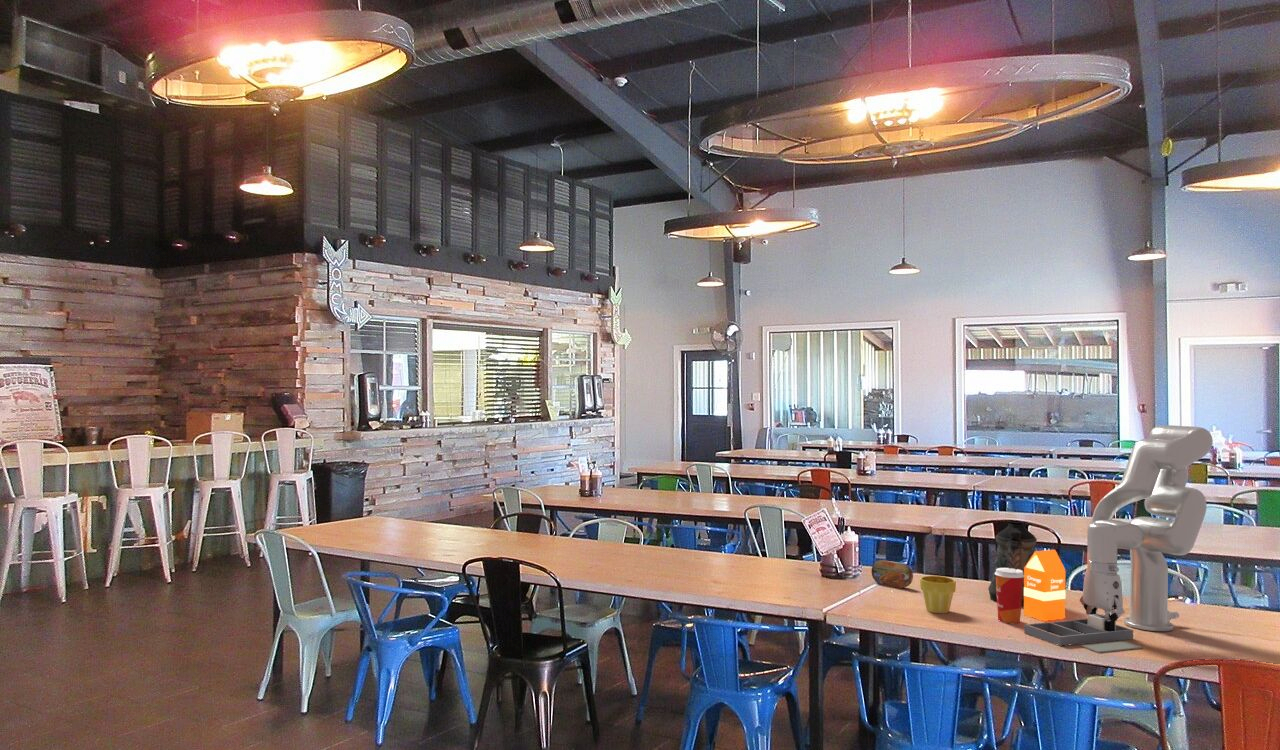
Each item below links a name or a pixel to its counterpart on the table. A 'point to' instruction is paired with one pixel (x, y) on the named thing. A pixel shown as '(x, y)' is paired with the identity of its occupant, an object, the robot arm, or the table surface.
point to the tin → (892, 573)
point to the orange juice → (1044, 586)
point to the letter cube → (1097, 621)
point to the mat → (1111, 646)
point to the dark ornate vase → (1012, 552)
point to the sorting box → (1075, 632)
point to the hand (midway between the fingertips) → (1101, 631)
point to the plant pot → (937, 593)
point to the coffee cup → (1009, 594)
